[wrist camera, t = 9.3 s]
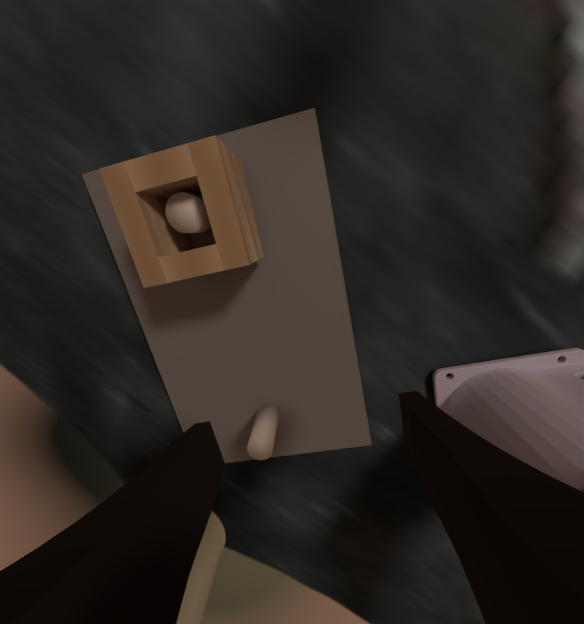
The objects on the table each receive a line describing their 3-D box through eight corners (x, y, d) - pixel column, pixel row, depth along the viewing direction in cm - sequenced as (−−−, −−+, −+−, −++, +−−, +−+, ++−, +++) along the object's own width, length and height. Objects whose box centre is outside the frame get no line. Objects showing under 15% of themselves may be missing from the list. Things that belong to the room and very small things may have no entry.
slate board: (314, 115, 15) (315, 66, 11) (368, 435, 21) (384, 491, 17) (94, 177, 17) (14, 158, 12) (201, 456, 23) (174, 513, 18)
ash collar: (240, 160, 15) (215, 135, 11) (264, 256, 16) (249, 264, 12) (152, 184, 15) (99, 168, 11) (182, 274, 17) (143, 288, 13)
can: (125, 487, 25) (-38, 712, 13) (225, 498, 24) (147, 740, 13) (136, 557, 27) (10, 795, 16) (227, 568, 27) (164, 820, 15)
